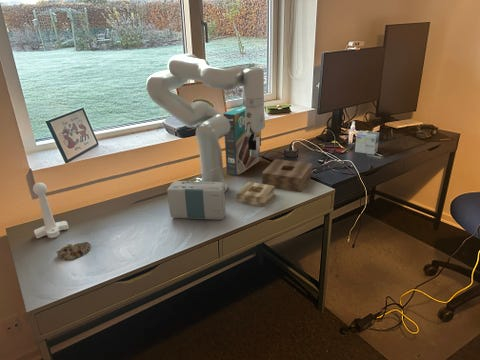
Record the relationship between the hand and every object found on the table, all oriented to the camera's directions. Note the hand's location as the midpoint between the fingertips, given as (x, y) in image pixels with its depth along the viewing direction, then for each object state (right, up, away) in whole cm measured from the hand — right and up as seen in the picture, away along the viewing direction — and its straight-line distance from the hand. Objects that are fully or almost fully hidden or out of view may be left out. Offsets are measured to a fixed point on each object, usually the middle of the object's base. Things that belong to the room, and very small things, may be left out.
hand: (254, 147), depth 149 cm
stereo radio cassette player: (-22, -27, -3) cm, 35 cm away
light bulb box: (+63, +2, +56) cm, 84 cm away
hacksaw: (+37, -6, +40) cm, 55 cm away
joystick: (-75, -33, -11) cm, 82 cm away
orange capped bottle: (0, -3, +1) cm, 3 cm away
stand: (+1, -21, +9) cm, 23 cm away
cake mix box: (-4, -7, +41) cm, 42 cm away
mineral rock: (-61, -38, -23) cm, 76 cm away
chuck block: (+16, -14, +24) cm, 32 cm away
